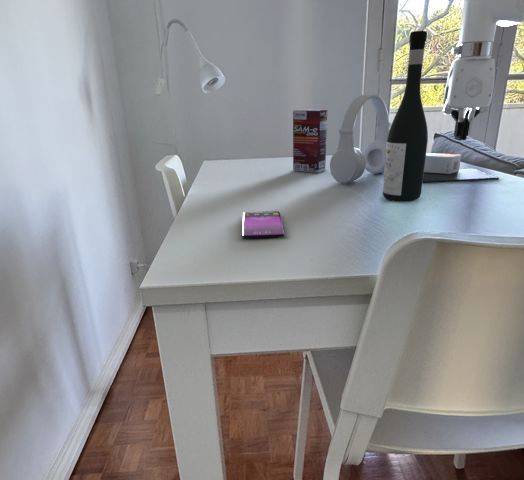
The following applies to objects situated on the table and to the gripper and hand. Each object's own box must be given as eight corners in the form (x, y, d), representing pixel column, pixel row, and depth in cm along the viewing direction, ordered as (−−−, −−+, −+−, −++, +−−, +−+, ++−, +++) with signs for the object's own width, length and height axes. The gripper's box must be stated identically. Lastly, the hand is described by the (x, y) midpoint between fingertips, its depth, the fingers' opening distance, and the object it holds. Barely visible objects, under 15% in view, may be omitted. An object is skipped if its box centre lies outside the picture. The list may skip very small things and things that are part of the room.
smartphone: (279, 215, 92) (279, 210, 92) (284, 237, 79) (284, 231, 79) (242, 217, 92) (242, 212, 92) (241, 239, 79) (241, 233, 79)
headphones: (356, 186, 115) (361, 96, 105) (327, 182, 120) (330, 97, 110) (395, 173, 128) (403, 92, 118) (368, 171, 133) (373, 93, 123)
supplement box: (292, 171, 137) (291, 110, 129) (300, 168, 140) (300, 109, 132) (318, 173, 133) (319, 110, 125) (326, 170, 136) (328, 109, 128)
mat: (473, 170, 127) (473, 168, 127) (498, 179, 115) (499, 177, 115) (393, 174, 127) (393, 172, 126) (410, 184, 115) (410, 182, 114)
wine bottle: (390, 204, 97) (407, 29, 83) (376, 196, 104) (389, 34, 89) (427, 201, 98) (450, 28, 84) (410, 193, 105) (429, 32, 90)
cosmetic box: (452, 156, 118) (408, 154, 125) (450, 174, 120) (406, 171, 127) (462, 153, 122) (418, 152, 129) (459, 171, 124) (416, 168, 131)
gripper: (448, 52, 104) (436, 142, 113) (514, 50, 105) (497, 140, 114) (435, 54, 111) (425, 139, 120) (498, 52, 111) (482, 136, 120)
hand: (460, 139), depth 117 cm, fingers closed
